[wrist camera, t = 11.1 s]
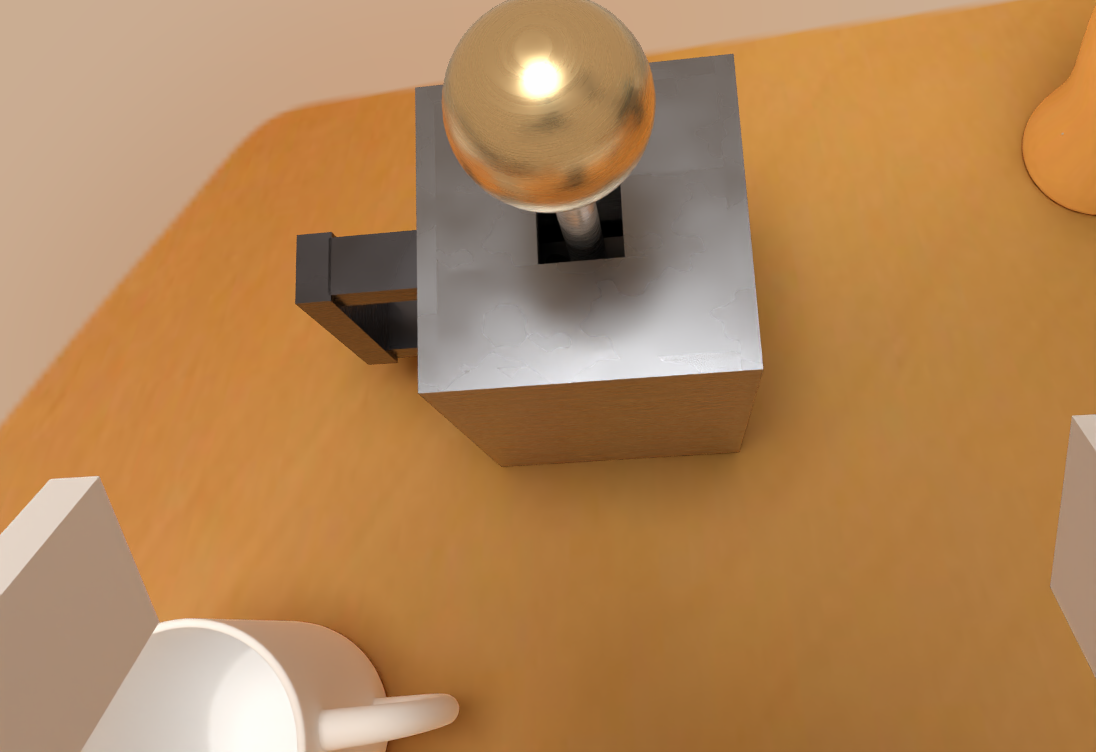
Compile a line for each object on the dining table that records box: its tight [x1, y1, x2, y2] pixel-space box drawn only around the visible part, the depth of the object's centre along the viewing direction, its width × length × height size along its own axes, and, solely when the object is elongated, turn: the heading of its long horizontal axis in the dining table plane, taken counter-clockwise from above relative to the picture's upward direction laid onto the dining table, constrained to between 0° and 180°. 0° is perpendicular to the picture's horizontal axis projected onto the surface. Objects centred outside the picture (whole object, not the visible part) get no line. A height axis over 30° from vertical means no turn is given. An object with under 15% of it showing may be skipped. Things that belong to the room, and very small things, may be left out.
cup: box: [81, 618, 459, 752], centre depth 37 cm, size 8×12×10 cm
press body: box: [295, 54, 763, 467], centre depth 38 cm, size 15×10×14 cm
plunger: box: [442, 0, 656, 264], centre depth 32 cm, size 8×8×22 cm
